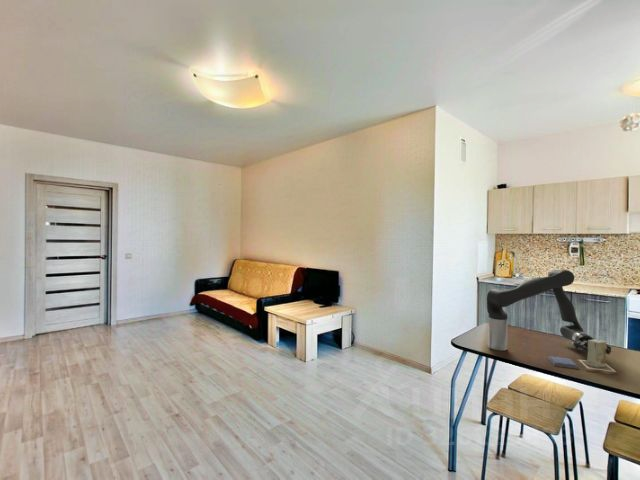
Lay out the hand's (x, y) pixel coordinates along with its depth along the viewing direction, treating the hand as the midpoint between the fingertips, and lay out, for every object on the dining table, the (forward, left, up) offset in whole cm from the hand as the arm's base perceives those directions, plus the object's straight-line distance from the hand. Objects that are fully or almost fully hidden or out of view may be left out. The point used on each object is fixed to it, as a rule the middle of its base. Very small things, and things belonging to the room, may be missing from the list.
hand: (597, 350), depth 150 cm
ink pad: (-13, +1, -9) cm, 16 cm away
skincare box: (0, +1, -8) cm, 8 cm away
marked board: (0, +1, -9) cm, 9 cm away
